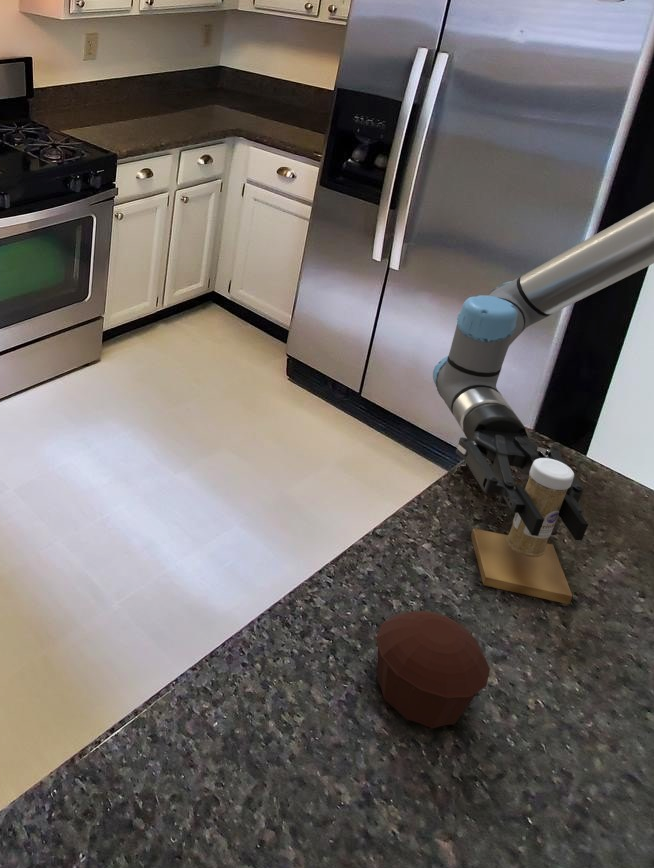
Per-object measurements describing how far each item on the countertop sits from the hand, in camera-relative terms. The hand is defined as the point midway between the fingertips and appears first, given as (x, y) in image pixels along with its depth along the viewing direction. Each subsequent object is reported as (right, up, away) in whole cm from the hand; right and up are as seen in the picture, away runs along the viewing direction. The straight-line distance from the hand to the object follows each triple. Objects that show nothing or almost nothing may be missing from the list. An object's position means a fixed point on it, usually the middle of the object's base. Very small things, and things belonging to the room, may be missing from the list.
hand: (559, 529), depth 100 cm
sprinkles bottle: (+1, -5, +8) cm, 10 cm away
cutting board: (+1, -8, +10) cm, 13 cm away
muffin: (-22, -17, -8) cm, 29 cm away
